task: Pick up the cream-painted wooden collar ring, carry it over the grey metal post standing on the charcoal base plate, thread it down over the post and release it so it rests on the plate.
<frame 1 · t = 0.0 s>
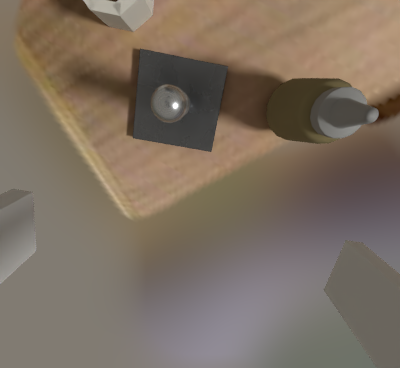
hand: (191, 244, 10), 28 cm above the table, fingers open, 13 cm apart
post: (178, 103, 34), on the table
squeeze bottle: (285, 109, 35), on the table
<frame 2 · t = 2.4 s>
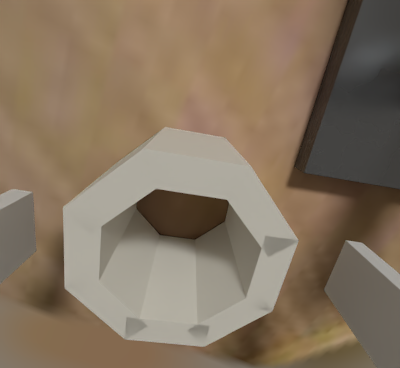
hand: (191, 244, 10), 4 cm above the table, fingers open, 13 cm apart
ring: (184, 198, 14), on the table
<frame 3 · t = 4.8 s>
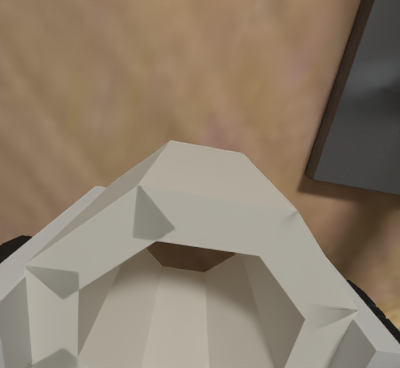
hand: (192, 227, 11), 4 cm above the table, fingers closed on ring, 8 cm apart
ring: (192, 224, 12), point 4 cm above the table, touching gripper
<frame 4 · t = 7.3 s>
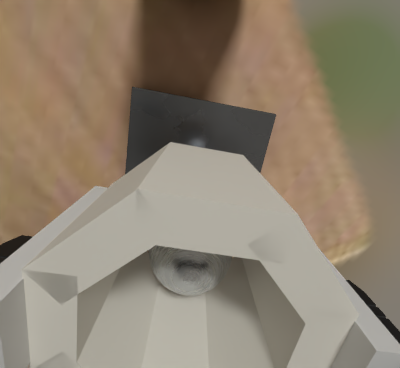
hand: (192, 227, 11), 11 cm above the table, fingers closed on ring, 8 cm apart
post: (193, 167, 22), on the table
ring: (192, 226, 12), point 11 cm above the table, touching gripper
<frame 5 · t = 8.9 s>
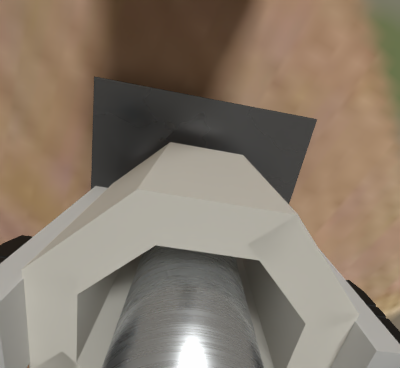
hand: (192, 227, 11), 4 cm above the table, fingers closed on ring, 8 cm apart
post: (191, 194, 15), on the table
ring: (192, 226, 12), point 4 cm above the table, touching gripper
when the fingers open (3 cm above the table, at t = 10.0 s): ring drops 2 cm, resting on post.
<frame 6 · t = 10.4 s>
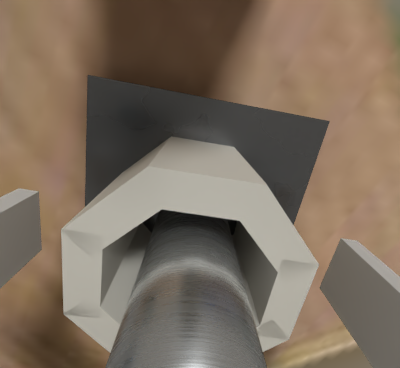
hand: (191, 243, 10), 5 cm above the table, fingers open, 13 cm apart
post: (193, 201, 14), on the table
ring: (191, 210, 13), point 1 cm above the table, touching post
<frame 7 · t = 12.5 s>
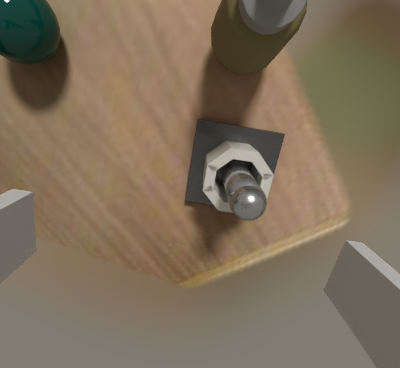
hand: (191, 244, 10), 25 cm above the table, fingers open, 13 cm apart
post: (231, 167, 34), on the table
sphere: (42, 34, 29), on the table
ring: (231, 169, 33), point 1 cm above the table, touching post
squeeze bottle: (241, 43, 29), on the table
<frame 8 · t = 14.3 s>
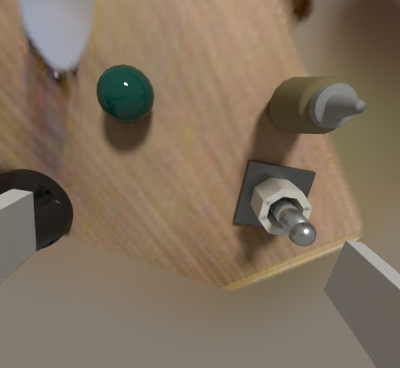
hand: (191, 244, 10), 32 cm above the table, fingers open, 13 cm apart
post: (271, 196, 44), on the table
sphere: (133, 96, 38), on the table
ring: (273, 198, 42), point 1 cm above the table, touching post
squeeze bottle: (286, 105, 38), on the table
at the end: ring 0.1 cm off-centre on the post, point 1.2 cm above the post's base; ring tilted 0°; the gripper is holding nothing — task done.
